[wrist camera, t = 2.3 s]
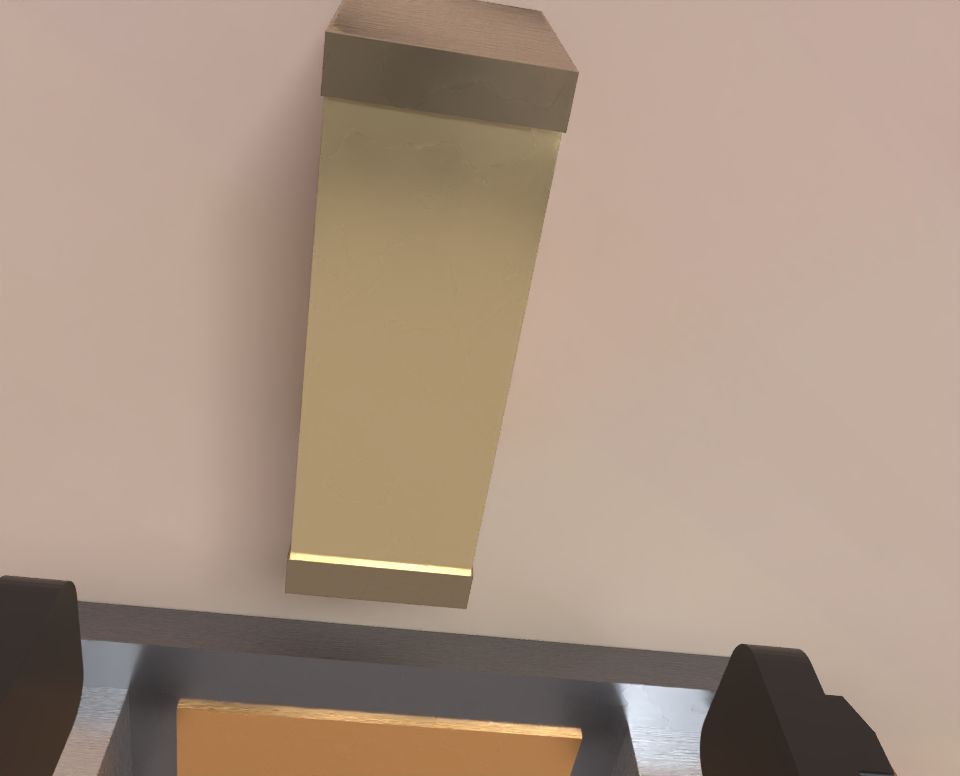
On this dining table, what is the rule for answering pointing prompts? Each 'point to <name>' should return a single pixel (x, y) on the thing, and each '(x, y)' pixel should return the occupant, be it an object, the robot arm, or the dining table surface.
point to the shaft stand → (373, 701)
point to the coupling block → (419, 286)
